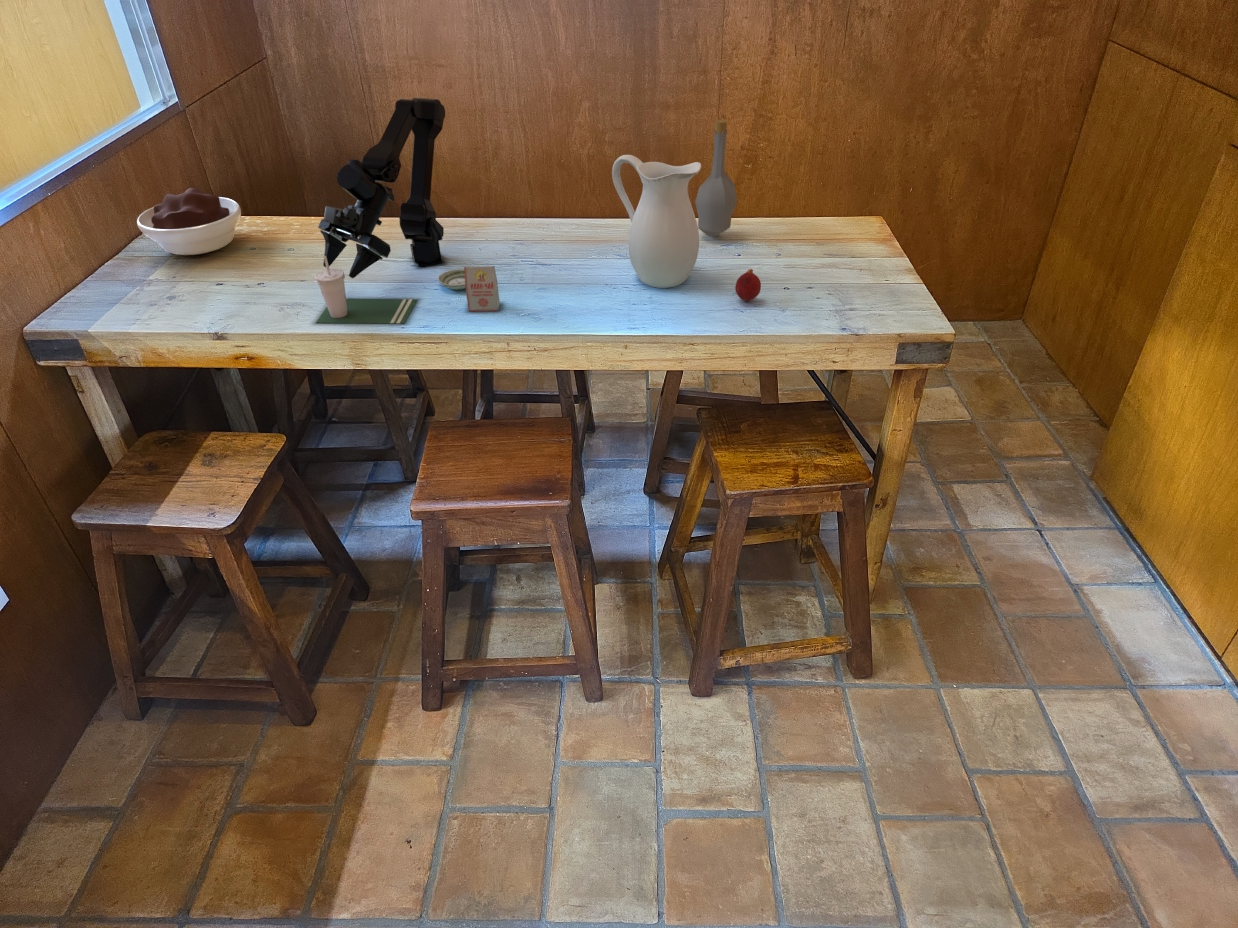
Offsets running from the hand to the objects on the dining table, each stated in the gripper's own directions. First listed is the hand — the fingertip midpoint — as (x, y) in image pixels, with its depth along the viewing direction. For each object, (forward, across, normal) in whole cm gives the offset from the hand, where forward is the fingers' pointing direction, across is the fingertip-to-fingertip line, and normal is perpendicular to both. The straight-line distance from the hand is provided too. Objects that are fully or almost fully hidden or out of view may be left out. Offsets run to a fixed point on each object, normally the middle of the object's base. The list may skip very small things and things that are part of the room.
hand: (337, 272), depth 174 cm
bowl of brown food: (+7, -63, +7) cm, 64 cm away
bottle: (-55, +44, +69) cm, 98 cm away
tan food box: (-8, +24, +21) cm, 33 cm away
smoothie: (+8, 0, +5) cm, 10 cm away
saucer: (-11, +10, +25) cm, 29 cm away
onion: (-35, +71, +49) cm, 93 cm away
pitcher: (-34, +44, +48) cm, 74 cm away
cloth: (+5, +4, +9) cm, 11 cm away
